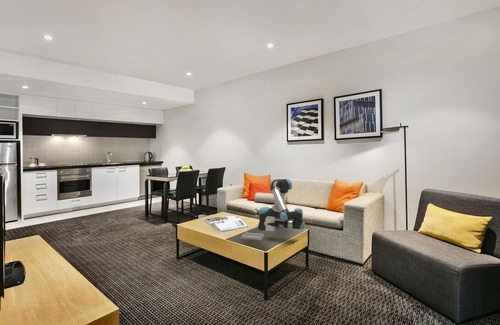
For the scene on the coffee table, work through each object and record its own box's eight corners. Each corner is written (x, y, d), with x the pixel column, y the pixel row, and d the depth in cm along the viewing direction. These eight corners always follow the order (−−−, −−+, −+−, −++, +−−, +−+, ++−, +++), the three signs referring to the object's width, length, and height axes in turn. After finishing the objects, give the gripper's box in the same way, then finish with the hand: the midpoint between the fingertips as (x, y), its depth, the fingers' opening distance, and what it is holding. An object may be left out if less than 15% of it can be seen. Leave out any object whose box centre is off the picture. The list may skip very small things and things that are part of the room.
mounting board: (245, 234, 273) (245, 231, 272) (265, 235, 266) (265, 233, 266) (240, 238, 257) (240, 236, 257) (261, 240, 251) (261, 238, 250)
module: (267, 228, 260) (267, 216, 259) (274, 229, 257) (274, 216, 257) (265, 230, 254) (265, 217, 253) (273, 231, 252) (273, 218, 251)
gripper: (286, 231, 241) (262, 229, 248) (290, 225, 259) (267, 223, 266) (286, 223, 241) (262, 221, 248) (290, 218, 259) (267, 216, 266)
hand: (265, 222), depth 257 cm, fingers closed on module, 6 cm apart
